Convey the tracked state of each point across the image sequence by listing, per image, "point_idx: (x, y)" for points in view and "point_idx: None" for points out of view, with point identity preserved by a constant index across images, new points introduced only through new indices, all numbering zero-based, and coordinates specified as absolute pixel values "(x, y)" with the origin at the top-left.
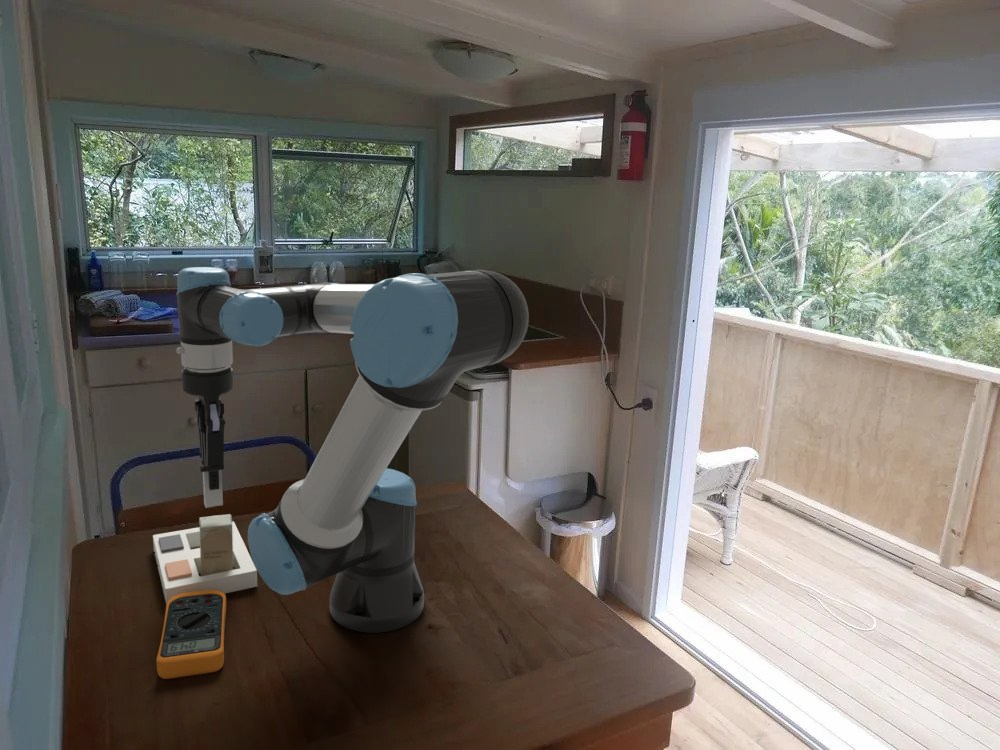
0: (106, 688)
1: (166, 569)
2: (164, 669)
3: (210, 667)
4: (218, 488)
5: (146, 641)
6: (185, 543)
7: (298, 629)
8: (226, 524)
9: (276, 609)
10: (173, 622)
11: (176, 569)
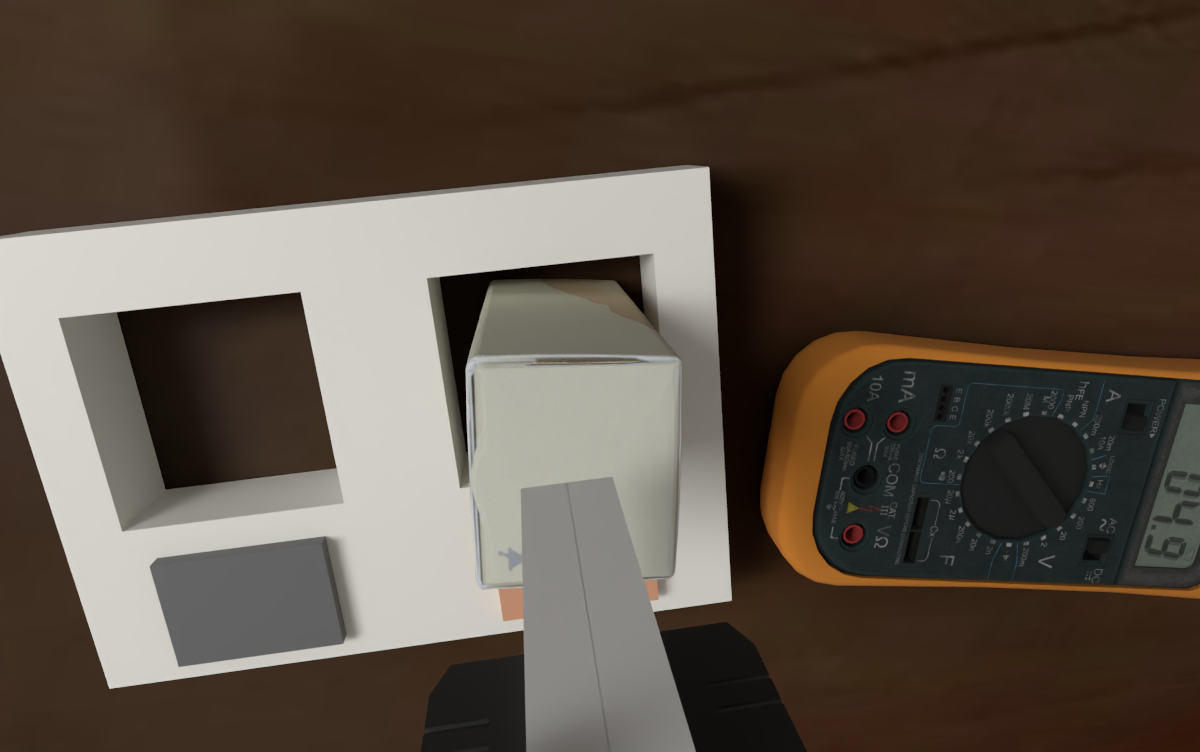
0: (1128, 694)
1: None
2: None
3: None
4: (735, 635)
5: (930, 608)
6: (258, 529)
7: (1136, 23)
8: (673, 400)
9: (931, 99)
10: (999, 555)
11: None
